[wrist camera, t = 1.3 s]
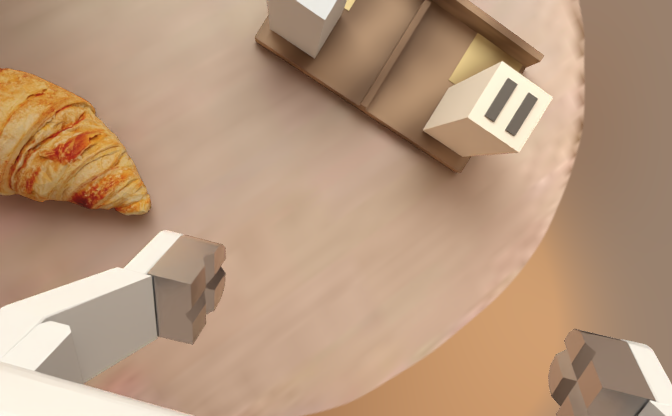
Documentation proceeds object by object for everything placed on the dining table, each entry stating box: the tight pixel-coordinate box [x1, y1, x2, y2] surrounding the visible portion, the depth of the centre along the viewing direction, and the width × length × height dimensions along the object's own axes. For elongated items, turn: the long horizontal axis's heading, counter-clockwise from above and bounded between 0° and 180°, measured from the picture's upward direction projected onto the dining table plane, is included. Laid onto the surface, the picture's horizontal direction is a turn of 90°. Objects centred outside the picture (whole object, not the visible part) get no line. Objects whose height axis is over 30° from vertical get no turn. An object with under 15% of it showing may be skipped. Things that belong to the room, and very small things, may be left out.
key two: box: [423, 61, 553, 157], centre depth 35 cm, size 4×5×10 cm
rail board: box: [255, 0, 544, 173], centre depth 39 cm, size 22×12×4 cm, turn 58°
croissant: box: [0, 68, 151, 216], centre depth 35 cm, size 21×10×8 cm, turn 57°
